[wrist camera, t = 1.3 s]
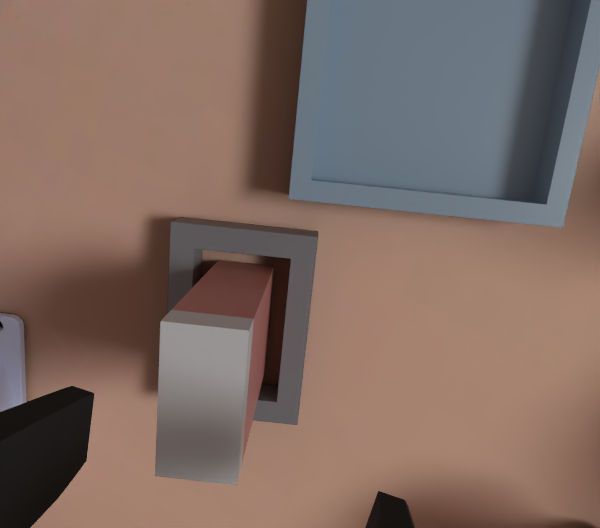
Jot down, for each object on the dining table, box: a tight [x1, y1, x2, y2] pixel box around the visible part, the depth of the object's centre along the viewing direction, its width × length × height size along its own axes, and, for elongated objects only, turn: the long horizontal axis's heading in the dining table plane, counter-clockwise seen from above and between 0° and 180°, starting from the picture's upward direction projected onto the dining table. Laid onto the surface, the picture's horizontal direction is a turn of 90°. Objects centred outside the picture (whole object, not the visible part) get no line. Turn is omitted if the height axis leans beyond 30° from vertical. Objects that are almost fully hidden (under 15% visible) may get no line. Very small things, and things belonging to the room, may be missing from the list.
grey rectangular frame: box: [167, 217, 318, 425], centre depth 21 cm, size 6×8×2 cm
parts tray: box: [289, 0, 600, 228], centre depth 18 cm, size 11×11×2 cm
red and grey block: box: [155, 260, 274, 485], centre depth 18 cm, size 2×5×8 cm, turn 174°
